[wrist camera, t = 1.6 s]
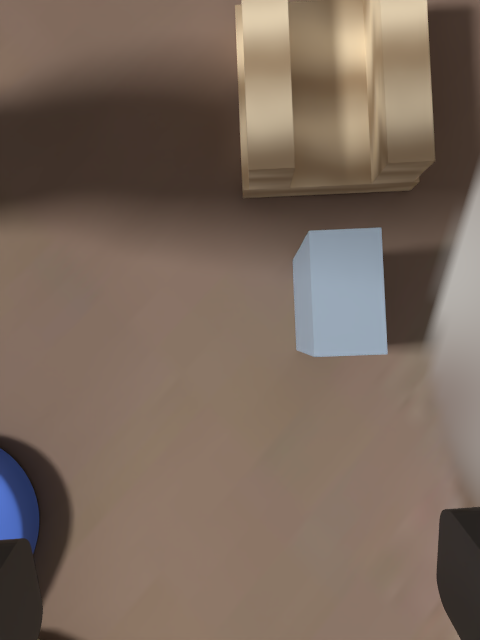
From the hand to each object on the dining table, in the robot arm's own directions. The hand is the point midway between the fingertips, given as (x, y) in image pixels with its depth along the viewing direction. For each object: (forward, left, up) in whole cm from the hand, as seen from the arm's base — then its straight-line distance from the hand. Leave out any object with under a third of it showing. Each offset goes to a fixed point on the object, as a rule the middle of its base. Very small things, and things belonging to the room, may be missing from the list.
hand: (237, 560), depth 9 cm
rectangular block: (-1, +9, -26) cm, 27 cm away
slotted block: (-12, +20, -26) cm, 35 cm away
